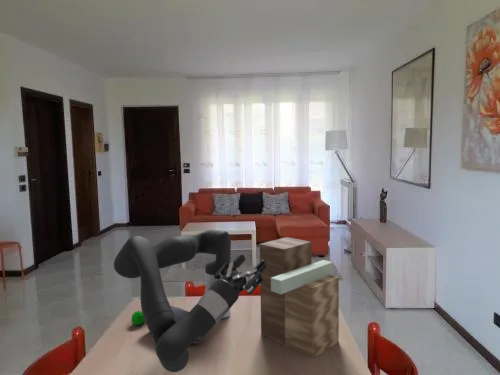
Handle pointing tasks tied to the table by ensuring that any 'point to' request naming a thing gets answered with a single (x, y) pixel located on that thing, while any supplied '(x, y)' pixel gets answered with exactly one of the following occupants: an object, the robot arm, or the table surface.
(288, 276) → the pale green bar
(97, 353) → the table surface
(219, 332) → the table surface
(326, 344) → the stand
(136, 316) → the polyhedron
